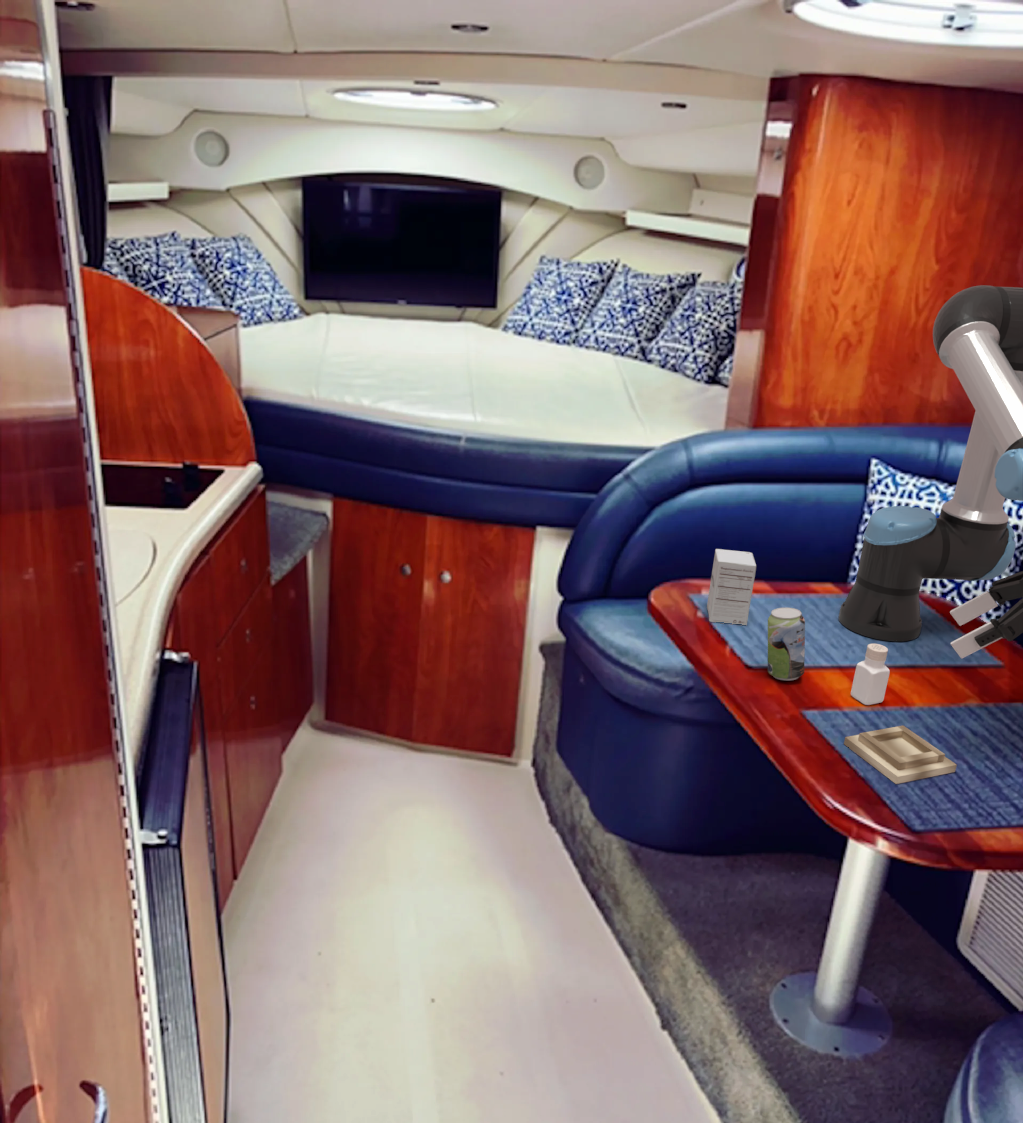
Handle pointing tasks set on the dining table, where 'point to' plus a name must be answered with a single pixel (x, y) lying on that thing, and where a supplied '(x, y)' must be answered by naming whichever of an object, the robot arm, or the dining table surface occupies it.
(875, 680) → the pepper shaker
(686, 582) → the dining table surface
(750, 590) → the supplement box
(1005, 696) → the dining table surface
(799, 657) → the beverage can
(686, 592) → the dining table surface
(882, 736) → the tray
